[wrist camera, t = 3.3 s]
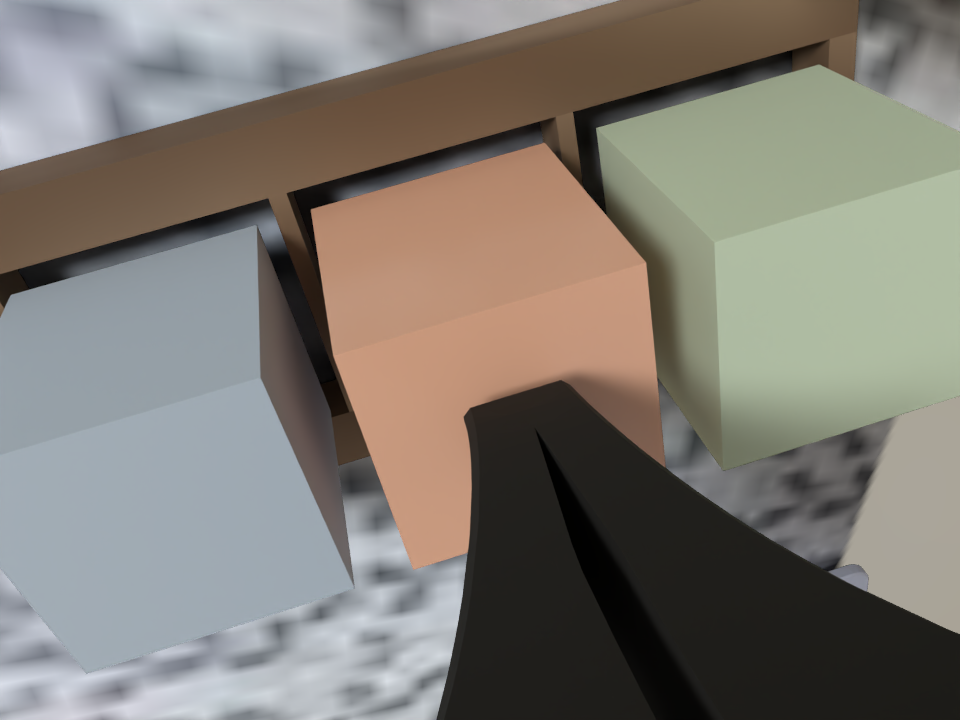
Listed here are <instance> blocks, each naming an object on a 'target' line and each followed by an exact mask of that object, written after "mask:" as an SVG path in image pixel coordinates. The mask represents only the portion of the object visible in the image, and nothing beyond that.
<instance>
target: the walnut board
mask: <svg viewBox="0 0 960 720" xmlns="http://www.w3.org/2000/svg"><path fill="white" fill-rule="evenodd" d="M858 9H859V0H620V1H616V2H613V3H609V4H605V5H602V6H598V7H594V8H591V9H587V10H584V11H580V12H576V13H573V14H569V15H565V16H562V17H558V18H554V19H551V20H547V21H543V22H540V23H536V24H533V25H529V26H525V27H522V28H518V29H514V30H511V31H507V32H503V33H500V34H496V35H493V36H489V37H485V38H482V39H478V40H474V41H471V42H467V43H463V44H460V45H456V46H452V47H449V48H445V49H442V50H438V51H434V52H431V53H427V54H423V55H420V56H416V57H412V58H409V59H405V60H402V61H398V62H394V63H391V64H387V65H383V66H380V67H376V68H372V69H369V70H365V71H361V72H358V73H354V74H351V75H347V76H343V77H340V78H336V79H332V80H329V81H325V82H321V83H318V84H314V85H310V86H307V87H303V88H300V89H296V90H292V91H289V92H285V93H281V94H278V95H274V96H270V97H267V98H263V99H260V100H256V101H252V102H249V103H245V104H241V105H238V106H234V107H230V108H227V109H223V110H219V111H216V112H212V113H209V114H205V115H201V116H198V117H194V118H190V119H187V120H183V121H179V122H176V123H172V124H169V125H165V126H161V127H158V128H154V129H150V130H147V131H143V132H139V133H136V134H132V135H128V136H125V137H121V138H118V139H114V140H110V141H107V142H103V143H99V144H96V145H92V146H88V147H85V148H81V149H78V150H74V151H70V152H67V153H63V154H59V155H56V156H52V157H48V158H45V159H41V160H37V161H34V162H30V163H27V164H23V165H19V166H16V167H12V168H8V169H5V170H1V171H0V317H1V315H2V313H3V311H4V309H5V306H6V304H7V302H8V300H9V298H10V296H11V295H12V294H16V293H19V292H23V291H26V290H29V288H28V286H27V285H26V283H25V282H24V280H23V278H22V277H21V275H20V273H19V272H18V270H17V269H20V268H23V267H27V266H31V265H34V264H38V263H41V262H45V261H48V260H52V259H55V258H59V257H62V256H66V255H69V254H73V253H76V252H80V251H84V250H87V249H91V248H94V247H98V246H101V245H105V244H108V243H112V242H115V241H119V240H122V239H126V238H129V237H133V236H137V235H140V234H144V233H147V232H151V231H154V230H158V229H161V228H165V227H168V226H172V225H175V224H179V223H182V222H186V221H189V220H193V219H197V218H200V217H204V216H207V215H211V214H214V213H218V212H221V211H225V210H228V209H232V208H235V207H239V206H242V205H246V204H250V203H253V202H257V201H260V200H264V199H267V198H268V199H269V202H270V204H271V207H272V210H273V212H274V215H275V217H276V220H277V223H278V225H279V228H280V231H281V233H282V236H283V238H284V241H285V244H286V246H287V249H288V252H289V254H290V257H291V260H292V262H293V265H294V267H295V270H296V273H297V275H298V278H299V281H300V283H301V286H302V288H303V291H304V294H305V296H306V299H307V302H308V304H309V307H310V310H311V312H312V315H313V317H314V320H315V323H316V325H317V328H318V331H319V333H320V336H321V339H322V341H323V344H324V346H325V349H326V352H327V354H328V357H329V360H330V362H331V365H332V367H333V370H334V373H335V375H336V378H337V380H333V381H330V382H327V383H323V384H320V386H321V388H322V391H323V393H324V396H325V398H326V401H327V403H328V406H329V408H330V411H331V417H332V425H333V432H334V439H335V447H336V454H337V461H338V466H339V465H342V464H345V463H348V462H352V461H355V460H358V459H361V458H365V457H368V456H371V455H370V453H369V450H368V447H367V445H366V442H365V439H364V437H363V434H362V431H361V429H360V426H359V423H358V421H357V418H356V415H355V413H354V410H353V407H352V405H351V402H350V399H349V397H348V394H347V391H346V389H345V386H344V383H343V381H342V378H341V375H340V373H339V370H338V367H337V365H336V362H335V359H334V357H333V351H332V345H331V338H330V332H329V325H328V319H327V312H326V306H325V299H324V293H323V286H322V280H321V273H320V267H319V264H318V261H317V258H316V255H315V253H314V250H313V247H312V244H311V241H310V239H309V236H308V233H307V230H306V227H305V225H304V222H303V219H302V216H301V214H300V211H299V208H298V205H297V202H296V200H295V197H294V194H293V191H295V190H299V189H302V188H306V187H310V186H313V185H317V184H320V183H324V182H327V181H331V180H334V179H338V178H341V177H345V176H348V175H352V174H355V173H359V172H363V171H366V170H370V169H373V168H377V167H380V166H384V165H387V164H391V163H394V162H398V161H401V160H405V159H408V158H412V157H415V156H419V155H423V154H426V153H430V152H433V151H437V150H440V149H444V148H447V147H451V146H454V145H458V144H461V143H465V142H468V141H472V140H476V139H479V138H483V137H486V136H490V135H493V134H497V133H500V132H504V131H507V130H511V129H514V128H518V127H521V126H525V125H528V124H532V123H536V122H539V121H540V125H541V131H542V137H543V143H545V144H546V145H547V146H548V147H549V148H550V149H551V151H552V152H553V153H554V154H555V155H556V157H557V158H558V159H559V160H560V161H561V162H562V164H563V165H564V166H565V167H566V168H567V170H568V171H569V172H570V173H571V174H572V175H573V177H574V178H575V179H576V180H577V181H578V183H579V184H580V185H581V186H582V187H583V181H582V174H581V167H580V160H579V152H578V145H577V138H576V130H575V123H574V116H573V112H574V111H578V110H581V109H585V108H589V107H592V106H596V105H599V104H603V103H606V102H610V101H613V100H617V99H620V98H624V97H627V96H631V95H634V94H638V93H641V92H645V91H649V90H652V89H656V88H659V87H663V86H666V85H670V84H673V83H677V82H680V81H684V80H687V79H691V78H694V77H698V76H702V75H705V74H709V73H712V72H716V71H719V70H723V69H726V68H730V67H733V66H737V65H740V64H744V63H747V62H751V61H754V60H758V59H762V58H765V57H769V56H772V55H776V54H779V53H783V52H786V51H790V50H792V72H795V71H798V70H802V69H805V68H809V67H812V66H816V65H821V66H823V67H826V68H828V69H830V70H832V71H834V72H836V73H838V74H840V75H842V76H844V77H846V78H848V79H851V80H853V81H854V72H855V56H856V40H857V25H858Z"/></svg>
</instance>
